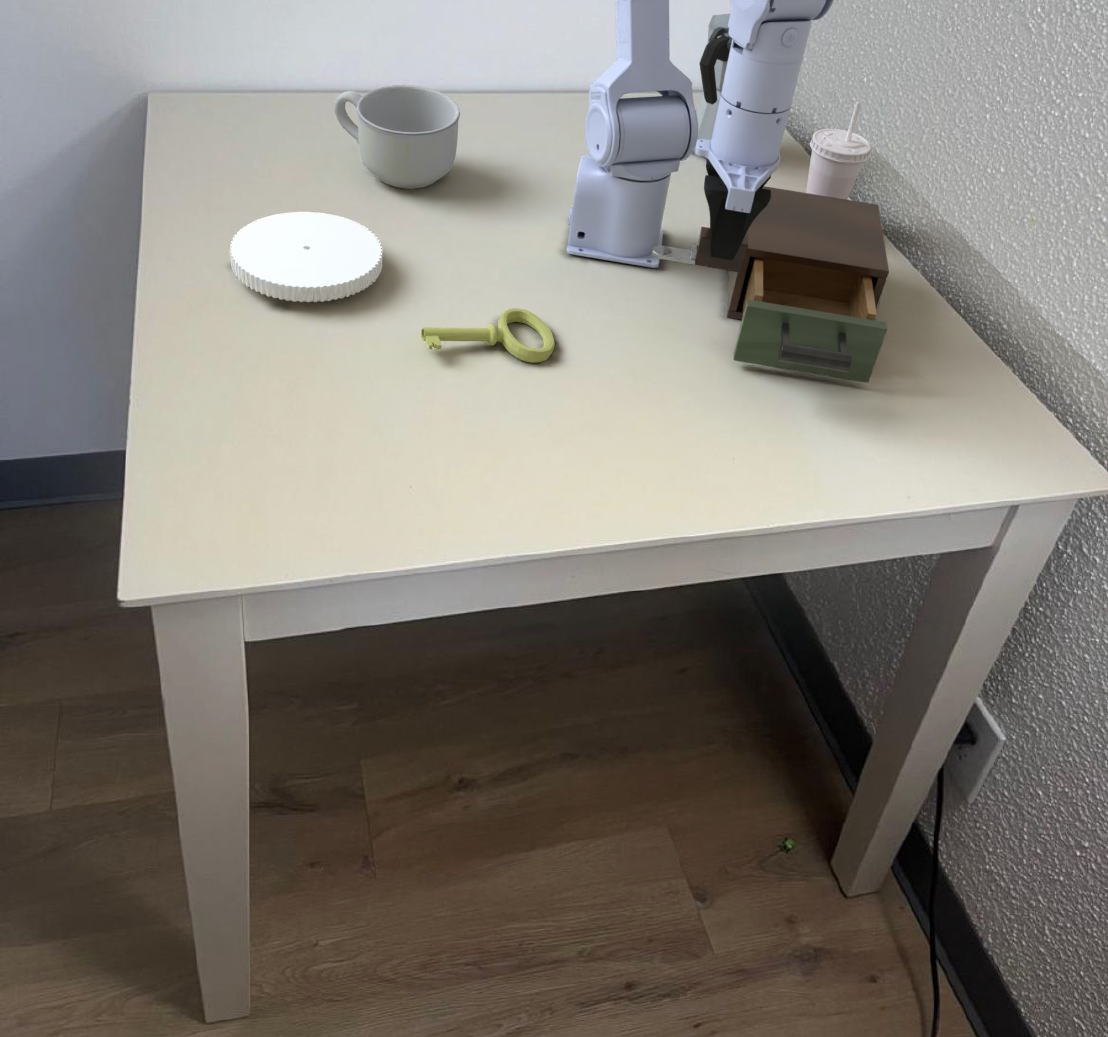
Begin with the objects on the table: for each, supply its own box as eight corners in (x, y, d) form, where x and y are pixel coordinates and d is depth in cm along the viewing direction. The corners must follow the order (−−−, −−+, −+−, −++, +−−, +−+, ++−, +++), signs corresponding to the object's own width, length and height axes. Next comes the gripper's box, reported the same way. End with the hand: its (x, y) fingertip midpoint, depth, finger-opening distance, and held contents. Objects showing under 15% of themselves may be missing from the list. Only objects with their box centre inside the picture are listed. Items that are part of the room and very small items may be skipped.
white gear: (221, 240, 114) (219, 216, 112) (363, 229, 118) (363, 207, 117) (244, 318, 104) (242, 294, 103) (397, 304, 109) (398, 280, 107)
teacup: (475, 176, 130) (480, 106, 124) (415, 210, 122) (417, 137, 117) (376, 136, 134) (377, 67, 129) (313, 167, 127) (310, 94, 122)
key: (413, 347, 104) (414, 326, 102) (526, 314, 110) (528, 295, 108) (456, 390, 100) (457, 369, 98) (571, 354, 106) (574, 334, 104)
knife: (741, 262, 105) (748, 234, 103) (741, 273, 103) (748, 244, 102) (652, 247, 105) (658, 218, 103) (651, 258, 104) (656, 229, 102)
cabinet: (865, 340, 113) (889, 271, 108) (726, 317, 113) (743, 247, 108) (857, 270, 123) (878, 204, 118) (729, 249, 123) (745, 182, 118)
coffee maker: (715, 120, 148) (746, -29, 136) (775, 144, 145) (813, -7, 133) (652, 155, 138) (679, -2, 126) (716, 182, 135) (750, 23, 123)
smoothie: (846, 242, 127) (884, 118, 118) (788, 231, 128) (821, 107, 119) (847, 216, 132) (884, 95, 123) (791, 205, 133) (823, 84, 123)
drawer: (872, 415, 102) (892, 360, 98) (732, 392, 102) (746, 336, 99) (859, 311, 115) (877, 259, 111) (735, 290, 116) (748, 237, 112)
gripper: (710, 58, 100) (681, 204, 109) (703, 127, 89) (672, 283, 98) (792, 72, 100) (756, 217, 109) (795, 142, 89) (755, 296, 98)
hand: (721, 249), depth 103 cm, fingers closed on knife, 2 cm apart
